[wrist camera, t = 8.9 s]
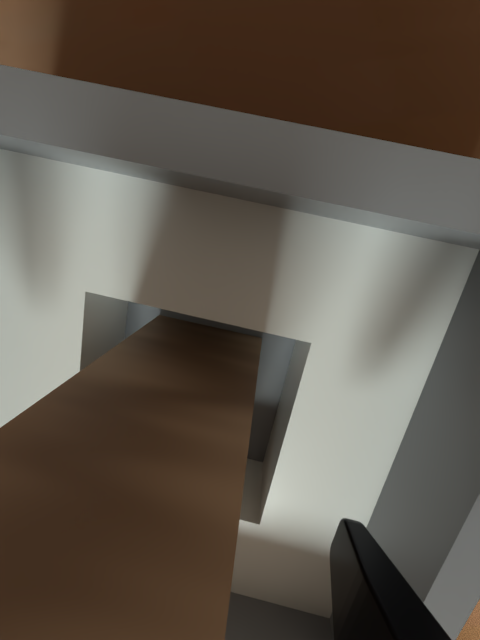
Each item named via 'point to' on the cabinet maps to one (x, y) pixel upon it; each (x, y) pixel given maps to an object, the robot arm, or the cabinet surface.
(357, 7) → the cabinet surface
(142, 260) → the peg socket
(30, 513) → the walnut peg
